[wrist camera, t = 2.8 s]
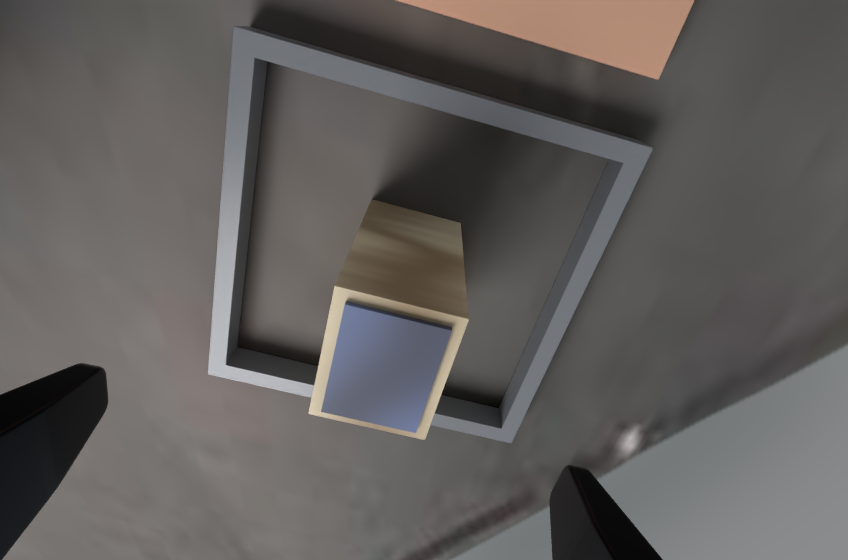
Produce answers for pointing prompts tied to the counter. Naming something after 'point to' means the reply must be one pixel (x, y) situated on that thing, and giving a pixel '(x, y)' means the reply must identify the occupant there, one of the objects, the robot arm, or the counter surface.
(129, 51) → the counter surface
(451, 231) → the birch label block
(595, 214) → the grey picture frame
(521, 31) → the terracotta tile
